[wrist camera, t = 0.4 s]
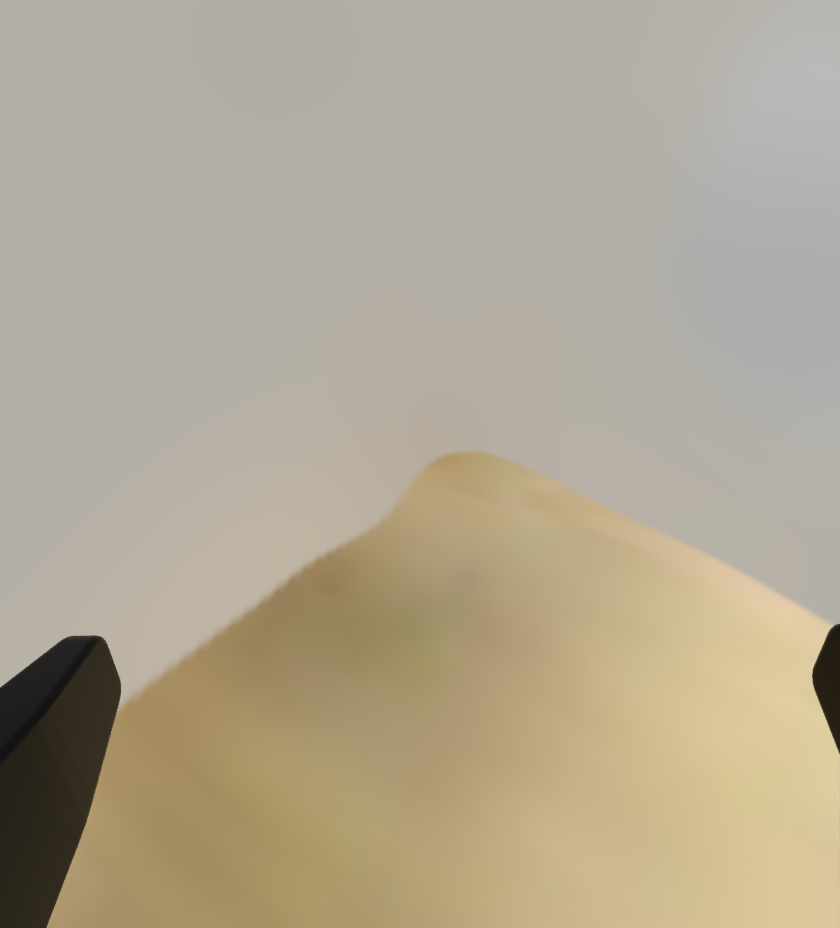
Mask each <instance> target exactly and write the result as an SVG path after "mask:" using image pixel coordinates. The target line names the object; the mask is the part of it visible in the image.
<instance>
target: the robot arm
mask: <svg viewBox="0 0 840 928" xmlns="http://www.w3.org/2000/svg"><path fill="white" fill-rule="evenodd" d="M812 679H813V685H814V689H815V692H816V695H817V697H818V700H819V702H820V705H821V707H822V710H823V713H824V715H825V718H826V720H827V723H828V725H829V728H830V731H831V733H832V736H833V738H834V741H835V743H836V746H837V749H838V751H839V754H840V624H837V625H835V626H834V627H832V628H831V629H830V631H829V632H828V635H827V637H826V639H825V642H824V644H823V646H822V649H821V651H820V653H819V656H818V658H817V660H816V663H815V665H814V668H813V674H812ZM120 696H121V682H120V678H119V675H118V672H117V670H116V667H115V664H114V661H113V659H112V656H111V653H110V650H109V648H108V645H107V643H106V641H105V640H104V639H103V638H102V637H100V636H70V637H67V638H65V639H63V640H61V641H60V642H59V643H57V644H56V645H55V646H53V647H52V648H51V649H50V650H49V651H47V652H46V653H44V654H43V655H42V656H41V657H39V658H38V659H37V660H35V661H34V662H33V663H31V664H30V665H29V666H28V667H26V668H25V669H24V670H23V671H21V672H20V673H19V674H17V675H16V676H15V677H14V678H12V679H11V680H10V681H8V682H7V683H6V684H4V685H3V686H2V687H1V688H0V928H46V927H47V925H48V922H49V919H50V917H51V914H52V912H53V909H54V906H55V904H56V901H57V899H58V896H59V893H60V891H61V888H62V885H63V883H64V880H65V878H66V875H67V872H68V870H69V867H70V865H71V862H72V859H73V857H74V854H75V852H76V849H77V846H78V844H79V841H80V838H81V835H82V833H83V830H84V827H85V824H86V821H87V818H88V815H89V811H90V808H91V805H92V801H93V798H94V794H95V790H96V786H97V783H98V779H99V775H100V772H101V768H102V764H103V760H104V757H105V753H106V749H107V746H108V742H109V738H110V735H111V731H112V727H113V723H114V720H115V716H116V712H117V709H118V705H119V701H120Z"/></svg>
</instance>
